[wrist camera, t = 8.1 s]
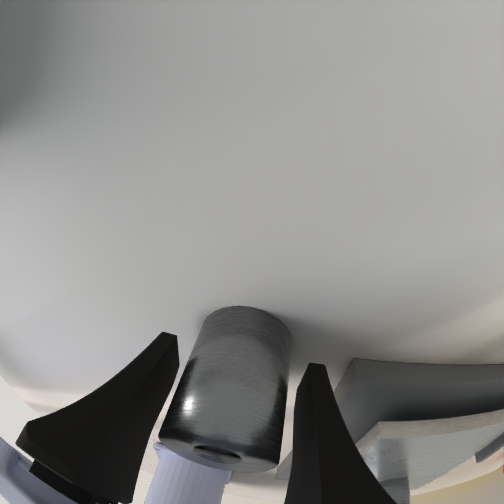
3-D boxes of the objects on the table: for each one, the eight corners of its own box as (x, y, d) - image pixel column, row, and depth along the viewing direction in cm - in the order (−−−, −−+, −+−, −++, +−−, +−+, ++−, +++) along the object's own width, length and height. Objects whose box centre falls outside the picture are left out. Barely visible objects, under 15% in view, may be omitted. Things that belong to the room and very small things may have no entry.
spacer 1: (281, 374, 13) (267, 479, 8) (201, 357, 13) (165, 456, 9) (301, 316, 11) (292, 448, 6) (202, 296, 11) (148, 415, 7)
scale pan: (415, 474, 18) (417, 488, 16) (302, 479, 18) (300, 495, 17) (515, 398, 10) (522, 416, 9) (377, 409, 11) (380, 439, 10)
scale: (420, 466, 20) (423, 494, 16) (277, 468, 21) (272, 502, 18) (538, 361, 11) (556, 399, 7) (353, 358, 12) (360, 431, 9)
